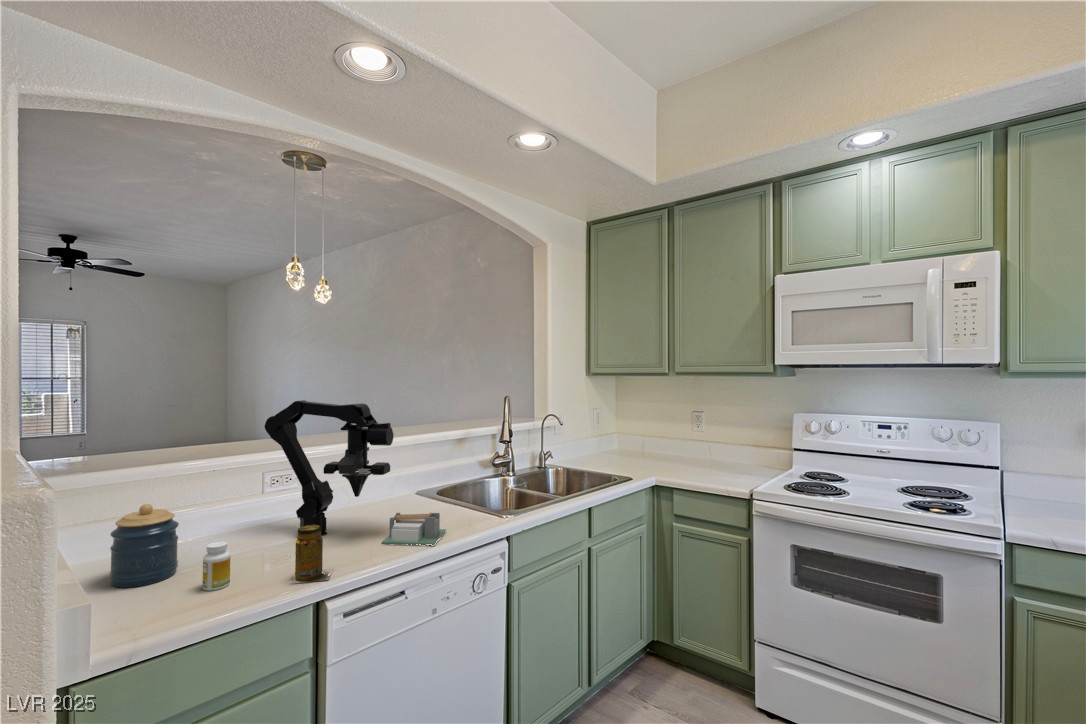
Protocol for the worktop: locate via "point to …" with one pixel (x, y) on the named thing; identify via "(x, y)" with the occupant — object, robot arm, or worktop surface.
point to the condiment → (309, 555)
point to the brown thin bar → (411, 516)
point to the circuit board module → (415, 531)
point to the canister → (144, 548)
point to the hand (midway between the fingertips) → (357, 496)
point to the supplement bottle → (216, 567)
